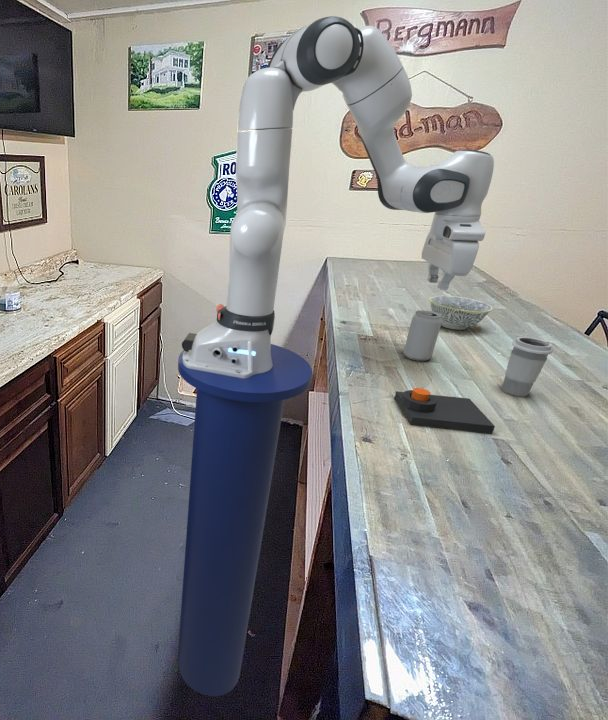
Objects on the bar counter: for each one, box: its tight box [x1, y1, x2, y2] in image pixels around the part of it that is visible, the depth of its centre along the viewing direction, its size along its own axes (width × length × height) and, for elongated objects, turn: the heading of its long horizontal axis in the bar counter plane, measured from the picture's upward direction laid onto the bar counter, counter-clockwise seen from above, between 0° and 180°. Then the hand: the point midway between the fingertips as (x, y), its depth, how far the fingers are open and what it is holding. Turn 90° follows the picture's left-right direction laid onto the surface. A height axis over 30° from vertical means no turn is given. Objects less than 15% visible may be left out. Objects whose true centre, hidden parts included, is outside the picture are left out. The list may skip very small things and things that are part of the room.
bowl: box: [428, 295, 493, 331], centre depth 139 cm, size 16×16×8 cm
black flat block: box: [394, 389, 496, 434], centre depth 92 cm, size 14×11×4 cm
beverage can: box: [402, 309, 442, 362], centre depth 117 cm, size 6×6×12 cm
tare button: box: [411, 387, 431, 402], centre depth 92 cm, size 3×3×2 cm
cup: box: [501, 336, 554, 397], centre depth 99 cm, size 7×7×12 cm
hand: (436, 285), depth 111 cm, fingers open, 5 cm apart
